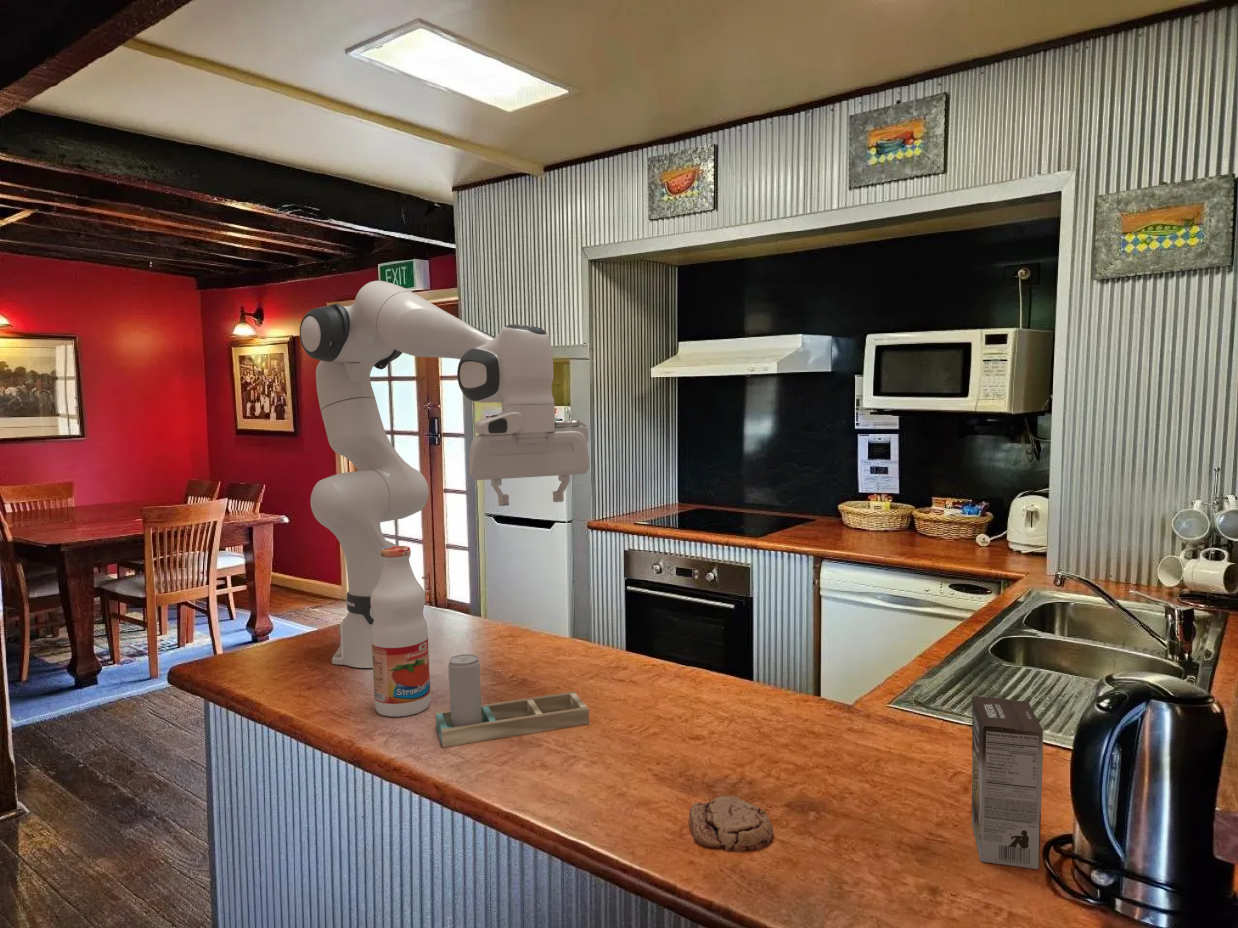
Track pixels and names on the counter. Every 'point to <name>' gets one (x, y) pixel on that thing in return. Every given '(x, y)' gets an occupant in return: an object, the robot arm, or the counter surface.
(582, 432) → the robot arm
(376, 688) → the fruit juice
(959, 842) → the counter surface
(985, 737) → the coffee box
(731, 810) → the cookie
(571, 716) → the rack
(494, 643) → the counter surface
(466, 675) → the beverage can
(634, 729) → the counter surface
